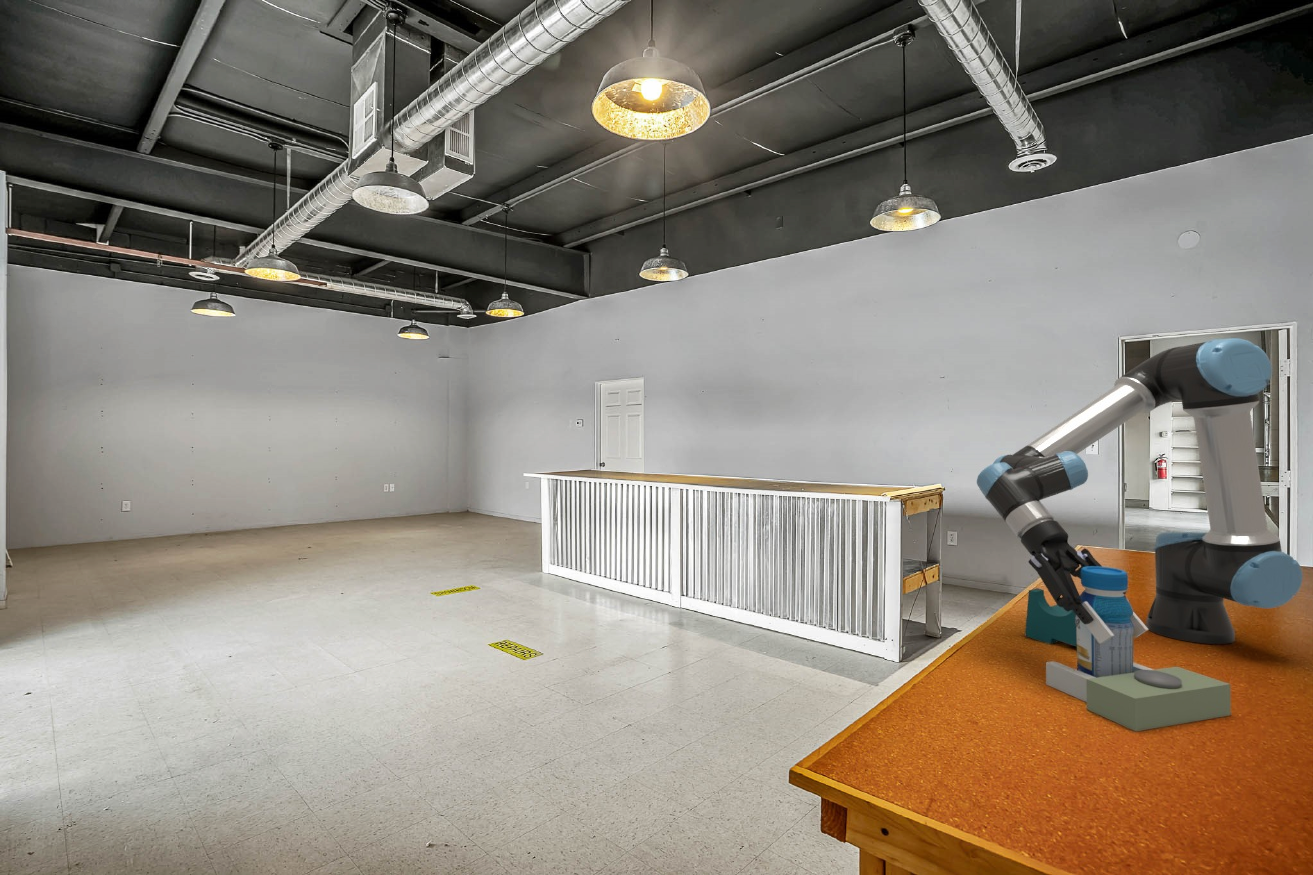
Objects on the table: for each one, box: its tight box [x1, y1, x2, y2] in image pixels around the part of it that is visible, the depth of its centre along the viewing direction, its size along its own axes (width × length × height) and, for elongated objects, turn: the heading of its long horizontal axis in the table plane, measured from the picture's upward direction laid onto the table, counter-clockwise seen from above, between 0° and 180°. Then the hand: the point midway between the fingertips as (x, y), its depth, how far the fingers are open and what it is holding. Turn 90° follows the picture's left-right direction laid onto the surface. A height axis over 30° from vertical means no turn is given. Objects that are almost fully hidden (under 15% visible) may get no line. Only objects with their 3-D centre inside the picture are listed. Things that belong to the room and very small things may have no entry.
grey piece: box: [1045, 661, 1232, 732], centre depth 105 cm, size 20×18×6 cm
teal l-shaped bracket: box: [1024, 587, 1077, 648], centre depth 138 cm, size 18×11×10 cm, turn 123°
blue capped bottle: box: [1075, 566, 1134, 678], centre depth 109 cm, size 8×8×20 cm
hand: (1124, 636), depth 106 cm, fingers open, 8 cm apart
